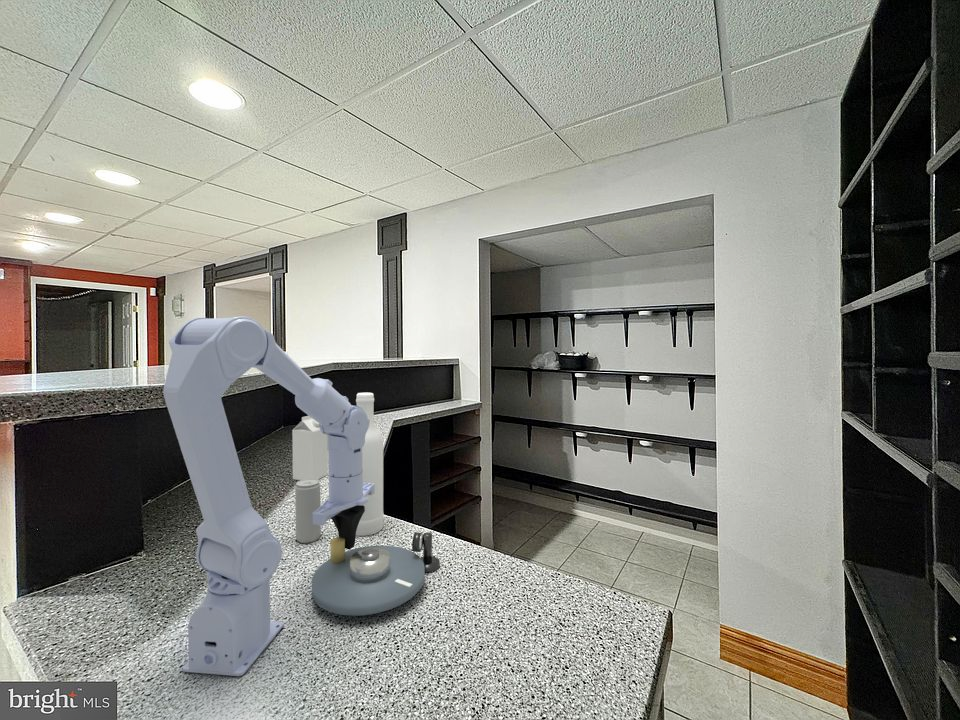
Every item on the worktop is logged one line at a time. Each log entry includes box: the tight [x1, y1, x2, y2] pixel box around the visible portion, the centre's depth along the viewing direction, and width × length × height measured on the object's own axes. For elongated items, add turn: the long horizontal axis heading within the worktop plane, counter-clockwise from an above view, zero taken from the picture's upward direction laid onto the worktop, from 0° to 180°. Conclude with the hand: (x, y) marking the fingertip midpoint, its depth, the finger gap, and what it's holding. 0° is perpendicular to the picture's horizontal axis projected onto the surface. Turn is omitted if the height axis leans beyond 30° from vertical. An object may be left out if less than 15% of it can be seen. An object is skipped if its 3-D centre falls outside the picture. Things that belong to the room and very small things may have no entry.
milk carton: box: [291, 415, 329, 481], centre depth 126 cm, size 7×7×19 cm
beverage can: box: [294, 479, 322, 544], centre depth 87 cm, size 5×5×12 cm
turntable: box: [311, 536, 426, 617], centre depth 69 cm, size 18×18×5 cm
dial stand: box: [411, 531, 441, 573], centre depth 76 cm, size 5×4×7 cm
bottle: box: [355, 392, 385, 537], centre depth 91 cm, size 8×8×30 cm
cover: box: [350, 548, 390, 584], centre depth 69 cm, size 6×6×3 cm
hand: (347, 547), depth 74 cm, fingers closed, pressing on turntable
